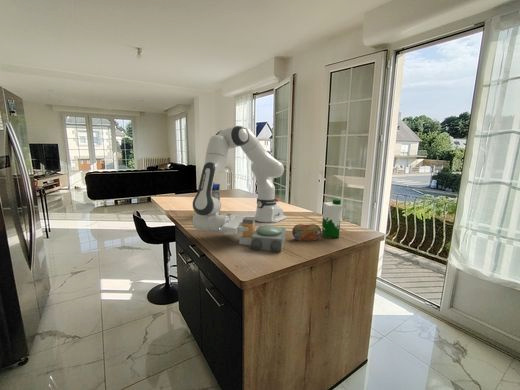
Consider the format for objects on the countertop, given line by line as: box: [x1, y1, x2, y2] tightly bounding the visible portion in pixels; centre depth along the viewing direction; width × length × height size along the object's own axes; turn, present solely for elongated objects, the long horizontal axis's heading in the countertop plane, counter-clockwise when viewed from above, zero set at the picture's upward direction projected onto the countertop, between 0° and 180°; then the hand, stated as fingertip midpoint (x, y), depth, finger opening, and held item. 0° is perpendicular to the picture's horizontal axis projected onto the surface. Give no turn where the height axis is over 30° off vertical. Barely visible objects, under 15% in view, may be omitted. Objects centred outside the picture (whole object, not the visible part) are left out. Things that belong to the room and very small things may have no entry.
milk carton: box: [321, 198, 343, 238], centre depth 141 cm, size 9×9×20 cm
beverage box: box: [211, 182, 221, 215], centre depth 175 cm, size 7×11×22 cm, turn 41°
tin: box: [291, 223, 322, 242], centre depth 135 cm, size 15×3×8 cm, turn 95°
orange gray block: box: [242, 216, 256, 238], centre depth 130 cm, size 5×5×12 cm
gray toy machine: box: [238, 224, 287, 253], centre depth 129 cm, size 21×20×8 cm
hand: (250, 226), depth 129 cm, fingers open, 7 cm apart
